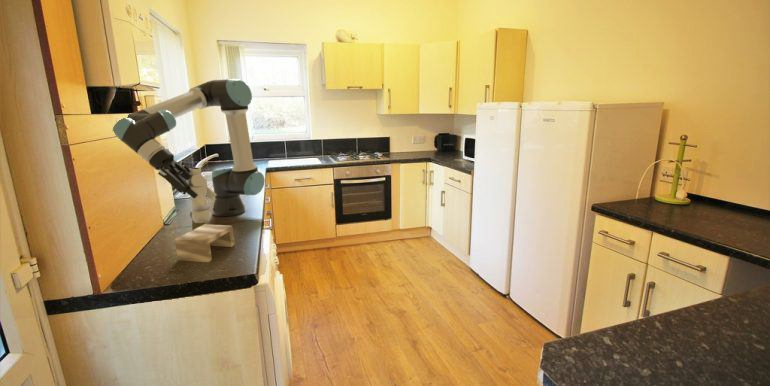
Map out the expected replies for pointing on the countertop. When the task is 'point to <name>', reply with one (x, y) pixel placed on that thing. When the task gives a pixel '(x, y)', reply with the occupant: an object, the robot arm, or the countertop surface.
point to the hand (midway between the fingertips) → (209, 199)
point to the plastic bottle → (200, 184)
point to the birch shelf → (203, 242)
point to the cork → (195, 225)
